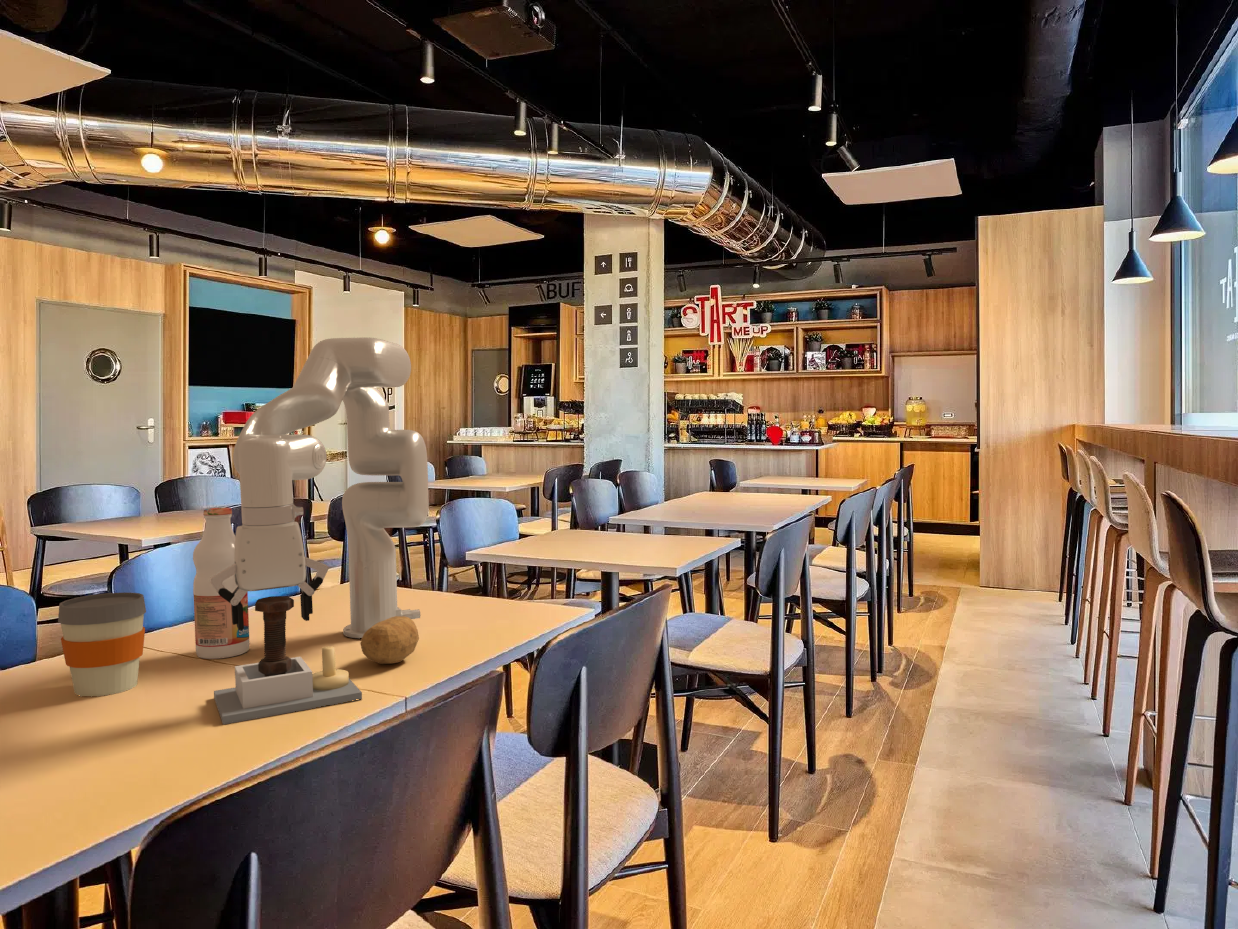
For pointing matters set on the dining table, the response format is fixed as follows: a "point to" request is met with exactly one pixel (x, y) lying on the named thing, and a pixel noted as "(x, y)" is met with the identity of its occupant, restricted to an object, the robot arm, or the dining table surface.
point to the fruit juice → (209, 607)
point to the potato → (390, 640)
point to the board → (284, 690)
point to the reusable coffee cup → (103, 641)
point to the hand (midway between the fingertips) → (273, 623)
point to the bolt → (274, 634)
